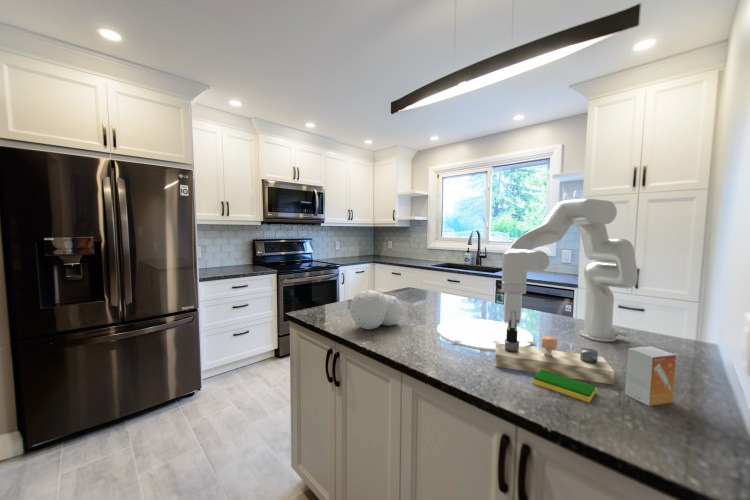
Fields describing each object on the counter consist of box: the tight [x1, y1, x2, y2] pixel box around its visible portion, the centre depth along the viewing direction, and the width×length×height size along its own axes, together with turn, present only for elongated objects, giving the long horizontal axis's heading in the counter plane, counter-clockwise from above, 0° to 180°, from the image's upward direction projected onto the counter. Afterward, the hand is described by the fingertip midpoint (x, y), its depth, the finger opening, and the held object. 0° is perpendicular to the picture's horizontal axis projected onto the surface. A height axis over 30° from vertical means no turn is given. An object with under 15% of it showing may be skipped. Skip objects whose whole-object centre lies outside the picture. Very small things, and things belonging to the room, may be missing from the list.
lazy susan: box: [436, 318, 537, 352], centre depth 133 cm, size 40×39×3 cm
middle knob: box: [540, 335, 558, 357], centre depth 100 cm, size 4×4×7 cm
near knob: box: [579, 347, 599, 363], centre depth 96 cm, size 4×4×7 cm
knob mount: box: [494, 343, 615, 385], centre depth 100 cm, size 32×11×4 cm, turn 68°
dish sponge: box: [532, 370, 596, 403], centre depth 87 cm, size 7×14×2 cm, turn 44°
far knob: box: [505, 339, 519, 352], centre depth 104 cm, size 4×4×7 cm
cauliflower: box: [349, 289, 404, 330], centre depth 143 cm, size 20×25×22 cm
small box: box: [624, 345, 677, 407], centre depth 81 cm, size 8×6×13 cm
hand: (511, 341), depth 103 cm, fingers closed
